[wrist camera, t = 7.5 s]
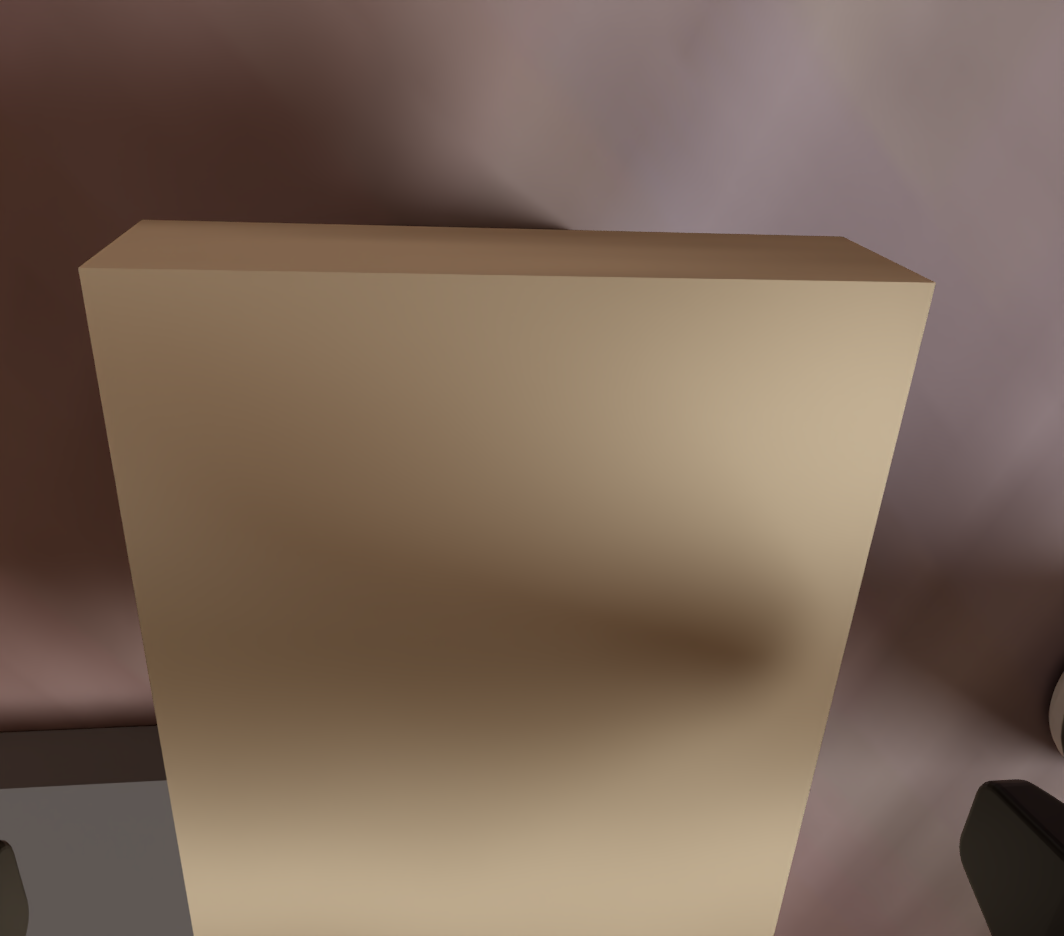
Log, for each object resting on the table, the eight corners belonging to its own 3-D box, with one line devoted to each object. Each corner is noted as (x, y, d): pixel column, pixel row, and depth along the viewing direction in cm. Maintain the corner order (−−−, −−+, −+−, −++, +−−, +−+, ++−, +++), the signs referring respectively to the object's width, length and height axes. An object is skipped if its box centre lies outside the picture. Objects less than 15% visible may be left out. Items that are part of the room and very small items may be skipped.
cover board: (718, 863, 14) (762, 982, 13) (235, 898, 14) (210, 1031, 12) (842, 236, 10) (936, 281, 8) (141, 219, 9) (77, 267, 7)
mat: (339, 1023, 23) (335, 1086, 22) (-88, 1062, 22) (-121, 1131, 20) (318, 718, 18) (311, 772, 17) (-219, 742, 17) (-272, 803, 16)
